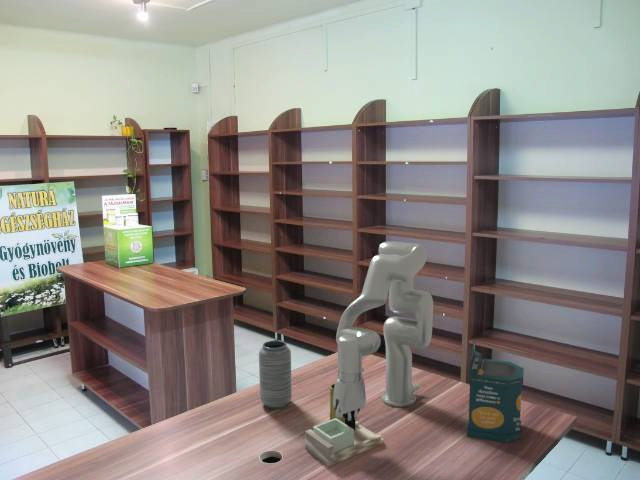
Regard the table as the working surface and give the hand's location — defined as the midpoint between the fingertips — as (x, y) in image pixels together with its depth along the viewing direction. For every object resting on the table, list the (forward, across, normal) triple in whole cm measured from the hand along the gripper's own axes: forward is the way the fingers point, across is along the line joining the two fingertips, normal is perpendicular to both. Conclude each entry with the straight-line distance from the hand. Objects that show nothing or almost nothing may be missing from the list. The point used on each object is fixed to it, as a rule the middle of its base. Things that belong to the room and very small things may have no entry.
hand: (350, 429), depth 171 cm
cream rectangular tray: (+5, +2, 0) cm, 5 cm away
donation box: (+5, -44, +22) cm, 49 cm away
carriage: (+3, +7, 0) cm, 7 cm away
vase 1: (+5, +4, -38) cm, 39 cm away
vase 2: (+5, -4, -11) cm, 13 cm away
